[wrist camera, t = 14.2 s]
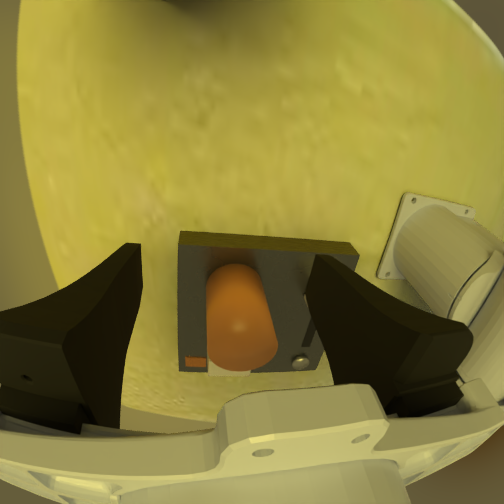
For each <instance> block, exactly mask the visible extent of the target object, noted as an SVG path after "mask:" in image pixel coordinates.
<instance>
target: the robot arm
mask: <svg viewBox="0 0 504 504" xmlns="http://www.w3.org/2000/svg"><path fill="white" fill-rule="evenodd" d="M412 198H414V200H413V201H412ZM411 201H412V202H411ZM475 213H476V210H475V209H474V208H473V207H470V206H466V205H462V204H458V203H454V202H450V201H446V200H441V199H437V198H433V197H428V196H424V195H419V194H415V193H410V192H407V193H405V194H404V195H403V197H402V200H401V204H400V207H399V210H398V213H397V216H396V220H395V223H394V226H393V229H392V232H391V235H390V238H389V241H388V243H387V246H386V249H385V252H384V255H383V257H382V260H381V263H380V266H379V268H378V271H377V276H378V277H379V278H380V279H406V280H407V281H408V282H409V283H410V284H411V285H412V287H413V288H414V289H415V290H416V291H417V293H418V294H419V295H420V296H421V298H422V299H423V300H424V301H425V302H426V304H427V305H428V306H429V307H430V309H431V310H432V311H433V313H434V314H435V315H434V314H431V313H428V312H425V311H423V310H420V309H418V308H415V307H413V306H411V305H409V304H406V303H404V302H402V301H400V300H398V299H397V298H395V297H393V296H391V295H389V294H387V293H386V292H384V291H382V290H381V289H379V288H378V287H376V286H374V285H373V284H371V283H370V282H368V281H367V280H365V279H364V278H363V277H361V276H360V275H358V274H357V273H355V272H354V271H353V270H351V269H350V268H348V267H347V266H346V265H344V264H343V263H341V262H340V261H338V260H337V259H335V258H334V257H332V256H330V255H324V254H316V255H315V258H314V262H313V266H312V269H311V273H310V277H309V280H308V284H307V287H306V291H305V296H306V300H307V305H308V309H309V312H310V315H311V318H312V320H313V323H314V325H315V328H316V330H317V332H318V335H319V337H320V340H321V342H322V345H323V347H324V350H325V352H326V355H327V358H328V361H329V365H330V369H331V373H332V377H333V381H334V385H332V386H322V387H311V388H299V389H283V390H264V391H258V392H252V393H246V394H242V395H240V396H238V397H236V398H234V399H232V400H230V401H228V402H227V403H225V404H224V406H223V407H222V409H221V410H220V412H219V413H218V414H217V423H216V427H215V428H212V429H205V430H197V431H190V432H182V433H171V434H166V433H152V432H142V431H132V430H123V429H120V408H121V394H122V383H123V374H124V366H125V359H126V354H127V349H128V345H129V342H130V338H131V334H132V331H133V328H134V324H135V321H136V317H137V314H138V310H139V307H140V301H141V295H142V289H143V279H142V261H141V244H138V243H125V244H124V245H123V246H121V247H120V248H119V249H118V250H116V251H115V252H114V253H113V254H112V255H110V256H109V257H108V258H107V259H106V260H104V261H103V262H102V263H101V264H99V265H98V266H97V267H95V268H94V269H92V270H91V271H90V272H88V273H87V274H86V275H84V276H83V277H81V278H80V279H78V280H77V281H75V282H73V283H72V284H70V285H68V286H67V287H65V288H63V289H61V290H59V291H57V292H55V293H53V294H51V295H49V296H47V297H44V298H42V299H39V300H37V301H34V302H31V303H28V304H26V305H23V306H20V307H16V308H12V309H8V310H4V311H1V312H0V383H1V387H0V479H1V480H4V481H6V482H8V483H11V484H13V485H15V486H17V487H20V488H22V489H25V490H27V491H30V492H32V493H35V494H37V495H40V496H43V497H45V498H48V499H51V500H54V501H57V502H60V503H62V504H411V502H410V499H409V496H408V494H407V491H406V489H405V486H406V485H408V484H411V483H413V482H415V481H417V480H419V479H422V478H424V477H425V476H428V475H430V474H432V473H434V472H436V471H438V470H440V469H441V468H443V467H445V466H447V465H449V464H451V463H453V462H455V461H457V460H458V459H460V458H462V457H464V456H466V455H468V454H470V453H471V452H473V451H474V450H475V449H476V448H477V447H478V446H480V445H481V444H482V443H483V442H484V441H485V440H486V439H488V438H489V437H490V436H491V435H492V434H493V433H494V432H495V431H496V430H497V429H499V428H500V427H501V426H502V425H504V242H503V241H502V240H500V239H499V238H498V237H496V236H495V235H494V234H492V233H491V232H490V231H488V230H487V229H486V228H484V227H483V226H482V225H480V224H479V223H478V222H476V221H475V220H473V219H474V216H475ZM387 272H388V273H387ZM386 273H387V274H386Z"/></svg>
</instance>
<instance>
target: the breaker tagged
mask: <svg viewBox="0 0 504 504" xmlns="http://www.w3.org/2000/svg"><path fill="white" fill-rule="evenodd" d="M207 363H208V376H250V371H251V370H249V371H239V372H237V371H229V370H225V369H222V368H220V367H218V366H217V365H215V364H214V363H213V362H212V361H211V360H210V358H209V356H208V352H207Z"/></svg>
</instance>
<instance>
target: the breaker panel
mask: <svg viewBox="0 0 504 504" xmlns="http://www.w3.org/2000/svg"><path fill="white" fill-rule="evenodd" d="M316 254H324V255H330V256H332V257H334V258H335V259H337V260H338V261H340V262H341V263H343V264H344V265H346V266H347V267H348V268H350V269H351V270H353V271H355V268H356V265H357V262H358V259H359V256H360V255H359V254H358V253H357V251H356V250H355V249H354V247H353V246H352V245H351V244H350V243H348V242H336V241H323V240H310V239H296V238H283V237H268V236H254V235H239V234H224V233H208V232H192V231H180V237H179V243H178V356H179V371H184V372H208V363H207V320H206V283H207V280H208V278H209V276H210V275H211V274H212V273H213V272H214V271H215V270H216V269H218V268H220V267H222V266H225V265H228V264H243V265H246V266H249V267H251V268H252V269H254V270H255V271H256V272H257V273H258V274H259V276H260V278H261V281H262V285H263V288H264V292H265V296H266V300H267V304H268V307H269V311H270V315H271V319H272V322H273V326H274V330H275V334H276V338H277V341H278V349H277V352H276V354H275V356H274V357H273V358H272V359H271V360H270V361H269V362H268V363H266V364H265V365H263V366H261V367H259V368H256V369H253V370H251V371H250V373H259V372H289V371H307V370H316V368H317V365H318V363H319V361H320V358H321V356H322V354H323V351H324V347H323V345H322V342H321V340H320V337H319V335H318V332H317V330H316V328H315V325H314V323H313V320H312V318H311V315H310V312H309V309H308V307H307V304H306V302H305V299H304V295H305V291H306V287H307V284H308V280H309V277H310V273H311V269H312V266H313V262H314V258H315V255H316Z"/></svg>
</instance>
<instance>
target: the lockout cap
mask: <svg viewBox="0 0 504 504" xmlns="http://www.w3.org/2000/svg"><path fill="white" fill-rule="evenodd" d="M206 320H207V352H208V356H209V358H210V360H211V361H212V362H213V363H214V364H215V365H217V366H218V367H220V368H222V369H225V370H229V371H237V372H239V371H249V370H253V369H256V368H259V367H261V366H263V365H265V364H266V363H268V362H269V361H270V360H271V359H272V358H273V357H274V356H275V354H276V352H277V349H278V341H277V338H276V334H275V330H274V326H273V322H272V319H271V315H270V311H269V307H268V304H267V300H266V296H265V292H264V288H263V285H262V281H261V278H260V276H259V274H258V273H257V272H256V271H255V270H254V269H252V268H251V267H249V266H246V265H243V264H228V265H225V266H222V267H220V268H218V269H216V270H215V271H214V272H213V273H212V274H211V275H210V276H209V278H208V280H207V283H206Z"/></svg>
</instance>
